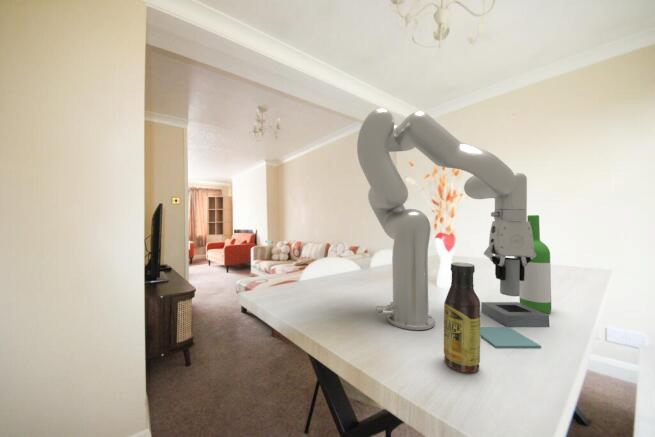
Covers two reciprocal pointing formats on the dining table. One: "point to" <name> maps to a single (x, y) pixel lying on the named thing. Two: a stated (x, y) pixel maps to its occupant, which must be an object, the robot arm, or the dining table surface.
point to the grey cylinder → (511, 278)
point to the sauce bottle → (462, 321)
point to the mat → (506, 338)
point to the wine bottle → (537, 274)
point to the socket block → (515, 314)
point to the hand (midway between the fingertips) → (509, 278)
